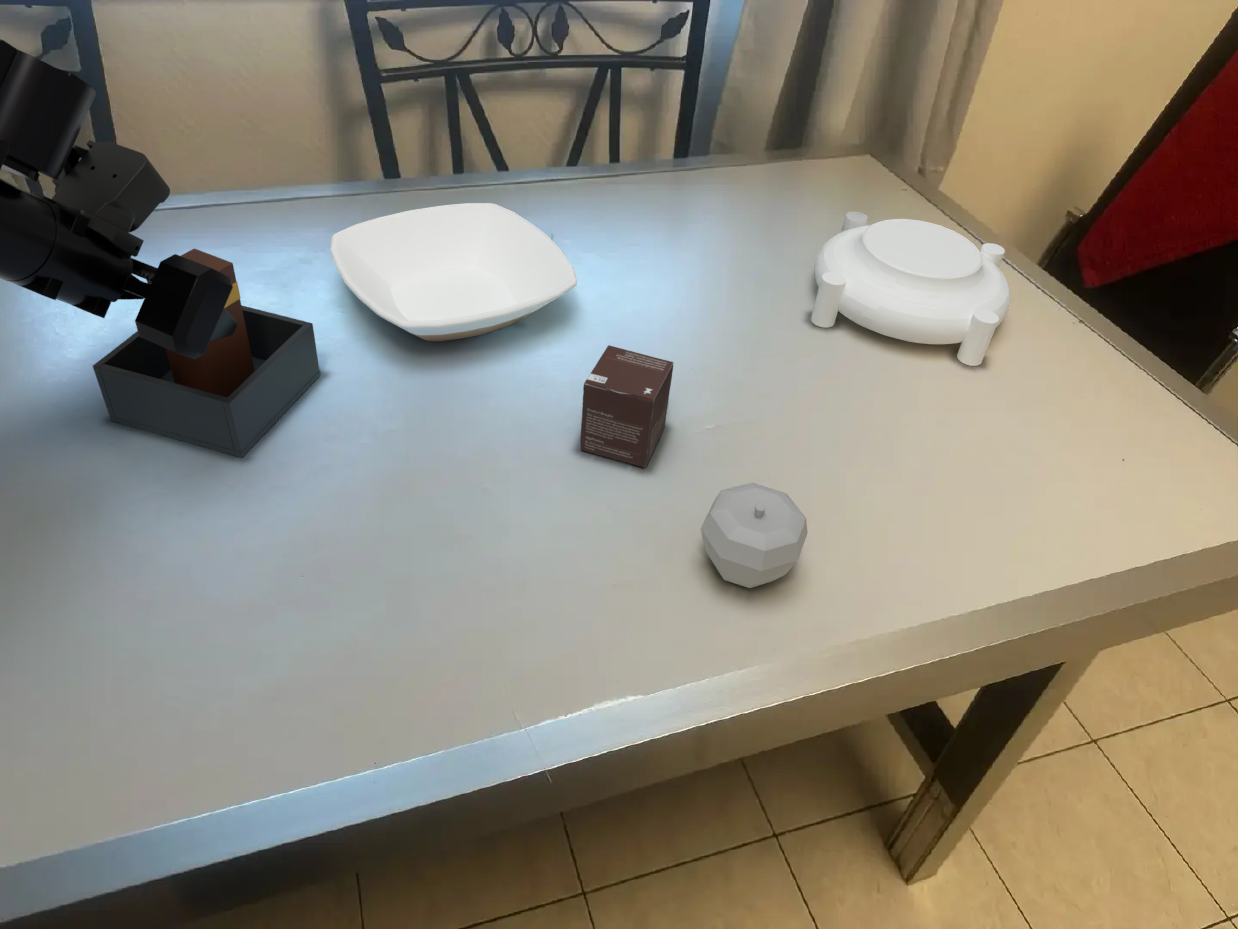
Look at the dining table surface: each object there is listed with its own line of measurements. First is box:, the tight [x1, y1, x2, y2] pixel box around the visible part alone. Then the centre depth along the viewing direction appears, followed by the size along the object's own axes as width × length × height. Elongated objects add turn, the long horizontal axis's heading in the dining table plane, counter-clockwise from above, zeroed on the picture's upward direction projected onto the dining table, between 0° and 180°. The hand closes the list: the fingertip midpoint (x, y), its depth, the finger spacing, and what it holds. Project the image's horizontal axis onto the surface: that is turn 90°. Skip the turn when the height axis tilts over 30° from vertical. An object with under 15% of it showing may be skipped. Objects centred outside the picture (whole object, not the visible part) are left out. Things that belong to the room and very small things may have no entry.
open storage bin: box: [92, 304, 321, 459], centre depth 80 cm, size 12×12×6 cm
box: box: [579, 344, 674, 468], centre depth 80 cm, size 6×6×7 cm
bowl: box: [329, 202, 578, 342], centre depth 95 cm, size 22×22×5 cm
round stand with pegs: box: [810, 211, 1012, 367], centre depth 102 cm, size 24×24×7 cm
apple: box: [700, 482, 808, 589], centre depth 70 cm, size 8×8×7 cm
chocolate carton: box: [145, 248, 255, 397], centre depth 78 cm, size 5×4×12 cm
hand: (188, 310), depth 75 cm, fingers open, 9 cm apart
